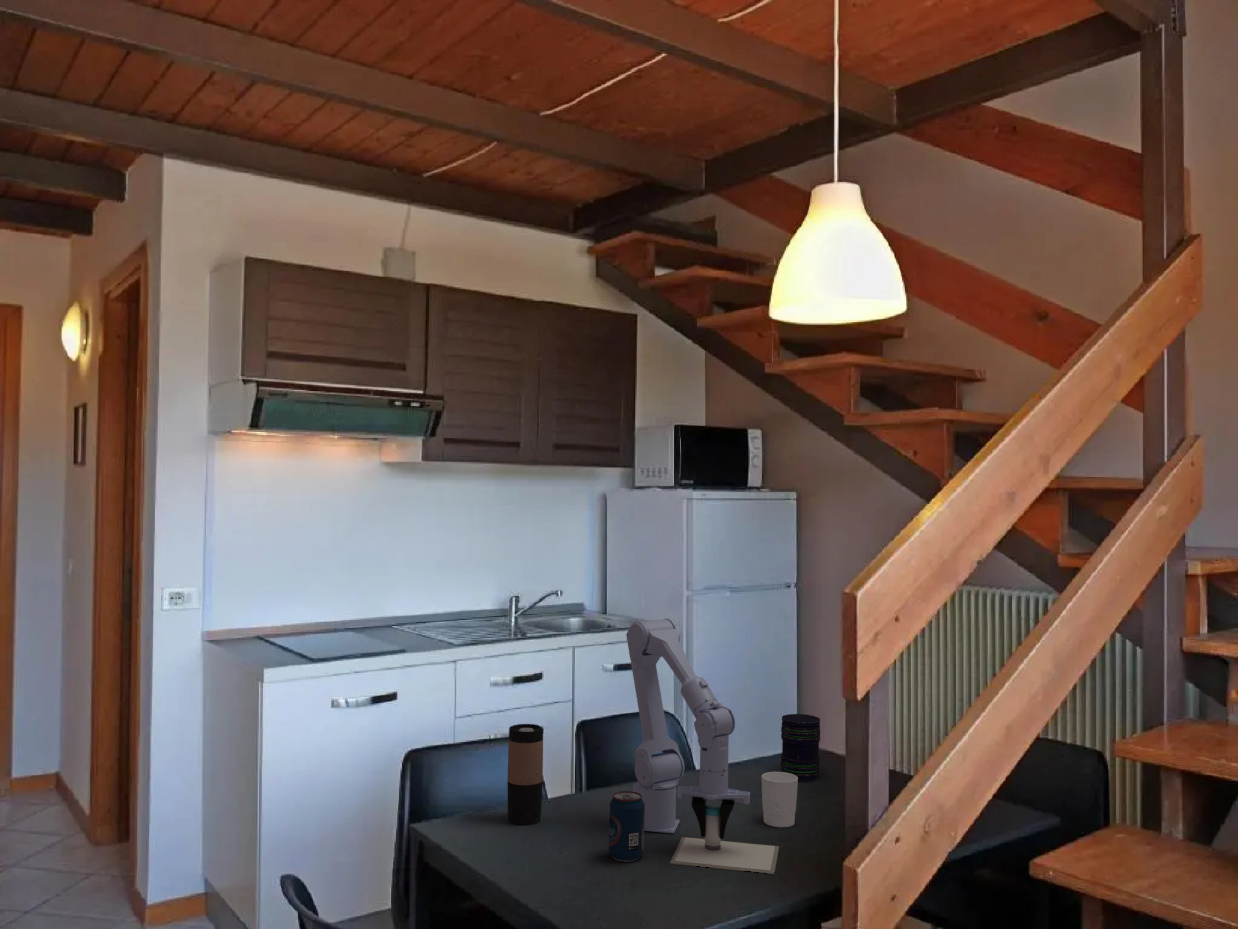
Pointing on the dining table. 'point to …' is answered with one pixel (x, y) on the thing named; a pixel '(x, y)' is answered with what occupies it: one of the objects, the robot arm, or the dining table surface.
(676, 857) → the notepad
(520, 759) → the travel mug
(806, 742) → the storage jar
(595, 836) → the dining table surface
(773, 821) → the white cup
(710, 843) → the marker
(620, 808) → the soda can
